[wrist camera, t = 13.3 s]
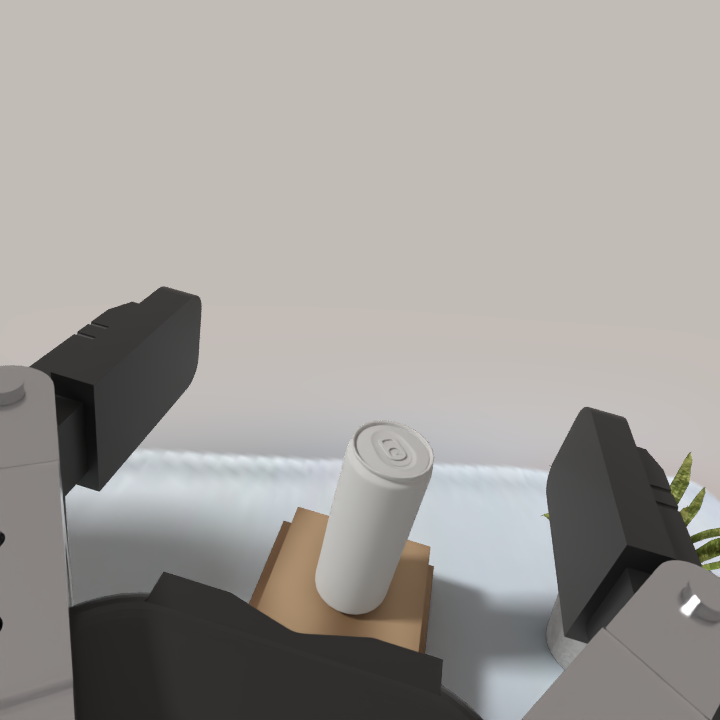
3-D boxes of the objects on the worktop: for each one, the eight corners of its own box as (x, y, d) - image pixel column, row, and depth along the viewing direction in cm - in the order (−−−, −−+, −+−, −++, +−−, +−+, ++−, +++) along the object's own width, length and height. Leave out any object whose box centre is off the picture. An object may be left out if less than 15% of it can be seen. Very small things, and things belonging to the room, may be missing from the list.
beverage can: (328, 629, 34) (373, 487, 28) (301, 563, 37) (335, 423, 31) (398, 608, 36) (453, 472, 30) (366, 547, 40) (410, 414, 33)
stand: (219, 685, 35) (225, 639, 32) (280, 537, 45) (289, 493, 42) (408, 747, 34) (430, 705, 31) (426, 582, 44) (444, 540, 42)
